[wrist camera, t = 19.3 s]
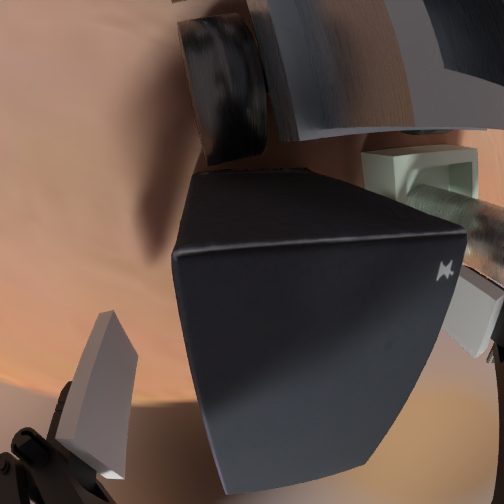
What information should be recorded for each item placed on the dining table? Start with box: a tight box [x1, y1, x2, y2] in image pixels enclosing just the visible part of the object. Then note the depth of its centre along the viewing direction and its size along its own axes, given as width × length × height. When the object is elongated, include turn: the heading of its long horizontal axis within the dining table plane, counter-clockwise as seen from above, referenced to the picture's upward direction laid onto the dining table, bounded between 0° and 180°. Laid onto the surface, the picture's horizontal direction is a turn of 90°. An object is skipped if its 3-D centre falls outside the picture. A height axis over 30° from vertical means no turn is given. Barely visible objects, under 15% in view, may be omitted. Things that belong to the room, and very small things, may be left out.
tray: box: [360, 144, 478, 265], centre depth 15 cm, size 8×8×3 cm
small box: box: [171, 167, 468, 495], centre depth 11 cm, size 11×6×10 cm, turn 1°
